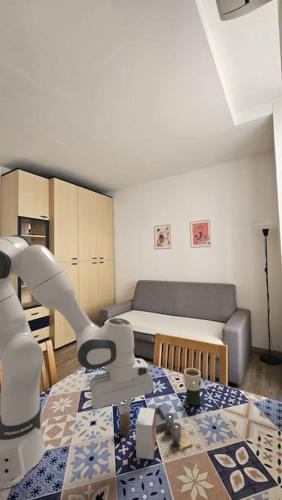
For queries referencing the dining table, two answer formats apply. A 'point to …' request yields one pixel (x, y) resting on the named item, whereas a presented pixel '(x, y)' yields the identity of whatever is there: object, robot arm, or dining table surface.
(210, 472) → the dining table surface
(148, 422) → the small box
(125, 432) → the dowel
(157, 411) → the grey partly piece
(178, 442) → the dogs
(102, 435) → the dining table surface
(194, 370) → the character mug
